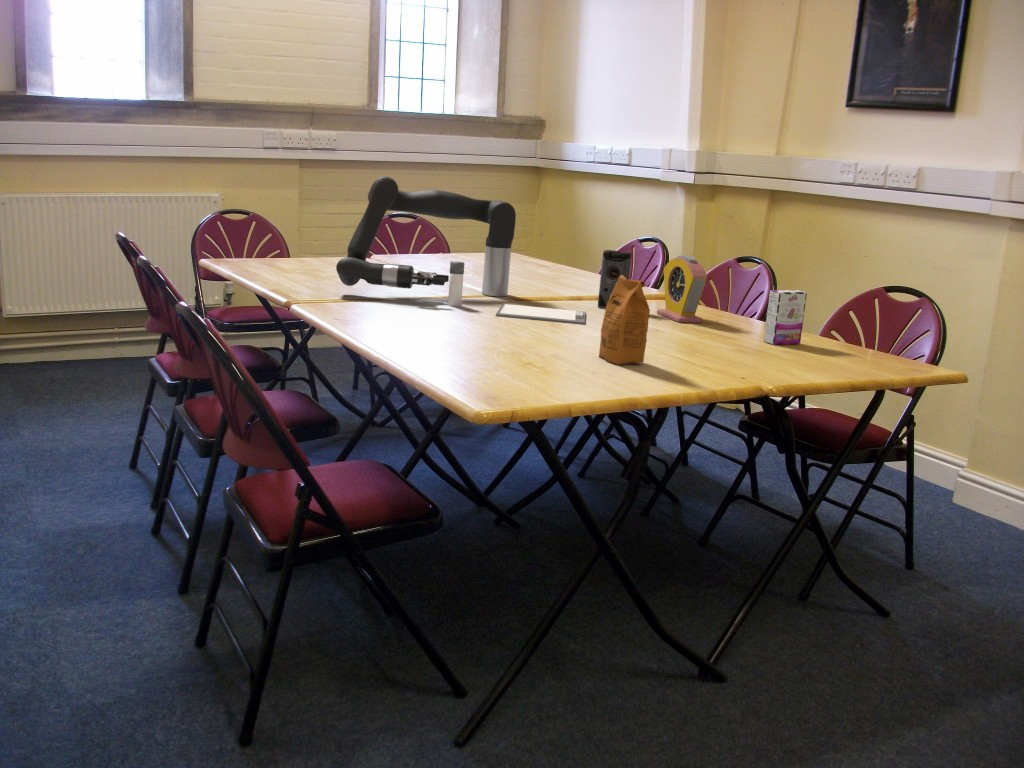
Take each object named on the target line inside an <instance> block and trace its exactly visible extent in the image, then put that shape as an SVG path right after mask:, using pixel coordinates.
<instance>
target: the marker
mask: <svg viewBox="0 0 1024 768" xmlns="http://www.w3.org/2000/svg"><path fill="white" fill-rule="evenodd" d="M464 275H465V262H464V261H457V260H456V261H454V260H453V261H450V263H449V281H448V283H449V284H448V298H447V299H448V300H447V306H449V307H457V308H458V307H462V299H463V285H464Z"/></svg>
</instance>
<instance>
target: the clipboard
mask: <svg viewBox="0 0 1024 768" xmlns="http://www.w3.org/2000/svg"><path fill="white" fill-rule="evenodd" d="M495 316H496V317H502V318H513V319H522V320H523V319H525V320H532V321H533V320H534V321H535V320H536V321H544V322H545V321H546V322H556V323H566V324H574V325H575V324H576V325H585V322H586V311H585V310H584V311H581V310H572V309H564V308H563V309H562V308H561V309H560V308H551V307H542V306H541V307H540V306H539V307H538V306H531V305H530V306H529V305H518V304H507V303H502V304H501V306H500V307H499V309H498V310H497V312H496V313H495Z"/></svg>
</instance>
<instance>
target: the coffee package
mask: <svg viewBox="0 0 1024 768" xmlns="http://www.w3.org/2000/svg"><path fill="white" fill-rule="evenodd" d="M645 286H646V283H645V282H644V281H643V280H636V279H630V278H629V279H628V280H627V279H626V278H625V277H624V276H623V275H620V277H619V279H618V281H617V283H616V285H615V287H614V289H613V291H612V293H611V295H610V298H609V300H608V303H607V306H606V309H604V316H603V318H602V319H603V320H602V324H601V328H600V343H599V352H598V353H599V354H598V358H602V359H604V360H605V361H606V362H608V363H611V364H615V365H619V366H621V365H622V366H623V365H627V364H639V363H644V360H645V353H646V346H647V341H648V340H647V336H648V335H647V333H648V331H649V329H648V328H649V318H650V311H651V309H650V307H649V306H650V305H649V303H648V300H647V298H646V296H645V294H644V290H643V287H644V288H645Z"/></svg>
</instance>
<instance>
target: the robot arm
mask: <svg viewBox="0 0 1024 768" xmlns="http://www.w3.org/2000/svg"><path fill="white" fill-rule="evenodd" d="M367 200H368V205H367V207H366V209H365V212H364V214H363V216H362V218H361V220H360V221H359V223H358V225H357V226H356V228H355V231H354V233H353V235H352V236H351V239H350V240H349V244H348V246H347V248H346V249H347V257H343V258H340V260H338V262H337V263H336V264H335V265H336V267H335V268H336V272H337V273H336V274H337V275H338V277H339V279H340V281H341V282H342V284H344V285H345V286H348V287H352V286H355V285H357V283H358V282H359V281H360V280H364V281H365V282H366V283H367V284H369V285H372V286H373V285H375V286H385V287H388V288H396V289H397V288H399V289H408V290H409V289H412V287H413V285H418V286H419V285H420V286H427V287H430V286H444V285H445V283H449V280H450V275H448V274H439V273H437V272H429V271H420V270H419V271H418V272H415V269H414V266H413V265H407V264H396V263H395V264H394V263H385V264H384V263H374V262H370V261H367V257H368V255H369V253H370V251H371V249H372V247H373V244H374V242H375V239H376V237H377V234H378V232H379V229H380V226H381V223H382V222H383V219H384V217H385V215H386V213H387V211H389V212H391V211H392V212H403V213H404V212H407V213H413V214H417V215H418V214H419V215H424V216H430V217H433V218H434V217H435V218H439V219H440V218H441V219H448V220H471V221H477V222H481V223H485V224H487V225H489V227H488V234H487V236H486V238H485V248H484V250H485V251H484V259H483V260H484V263H483V275H482V286H481V287H482V289H481V294H482V295H484V296H485V295H486V296H490V297H491V296H492V297H507V296H508V292H509V279H510V269H511V268H510V266H511V255H512V253H511V252H512V245H513V241H514V238H515V230H516V221H517V219H516V217H517V214H516V210H515V209H516V208H514V206H513V205H512V204H511V203H509V202H507V201H504V200H492V199H491V200H490V199H489V200H488V199H478V198H472V197H470V196H465V195H463V194H459V193H455V192H451V191H445V190H440V189H427V190H420V191H419V190H418V191H404V190H399V186H398V184H397V182H396V180H395V179H393V178H392V177H390V176H381V177H378V178H377V179H375V180H374V181H373V183H372V184H371V186H370V189H369V191H368V193H367Z"/></svg>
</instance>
